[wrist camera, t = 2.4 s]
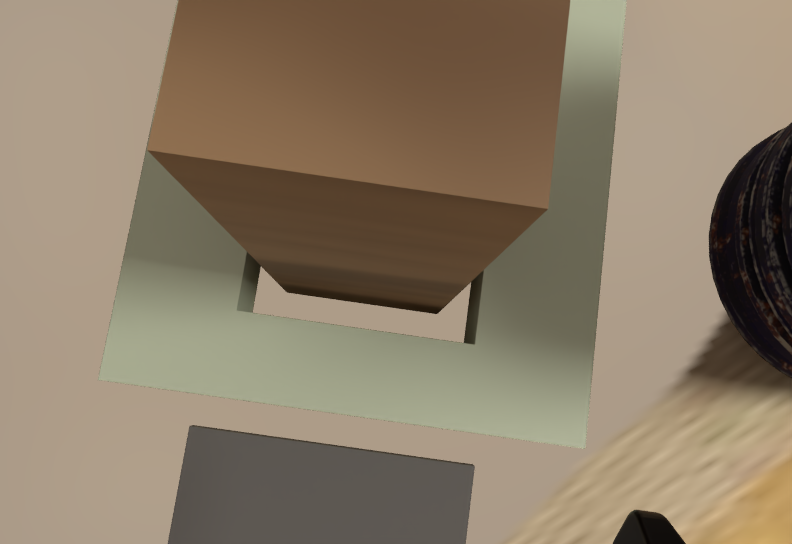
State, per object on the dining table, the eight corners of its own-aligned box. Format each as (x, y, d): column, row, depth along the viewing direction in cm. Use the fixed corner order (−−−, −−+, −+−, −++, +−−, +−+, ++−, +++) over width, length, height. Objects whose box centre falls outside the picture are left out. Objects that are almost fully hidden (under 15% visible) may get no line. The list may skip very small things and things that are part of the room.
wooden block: (437, 314, 22) (547, 209, 8) (287, 292, 22) (147, 149, 8) (455, 169, 23) (585, -145, 9) (311, 148, 23) (220, -203, 9)
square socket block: (560, 441, 22) (584, 448, 19) (129, 379, 21) (98, 379, 19) (605, -10, 24) (631, -54, 22) (219, -69, 24) (202, -120, 21)
